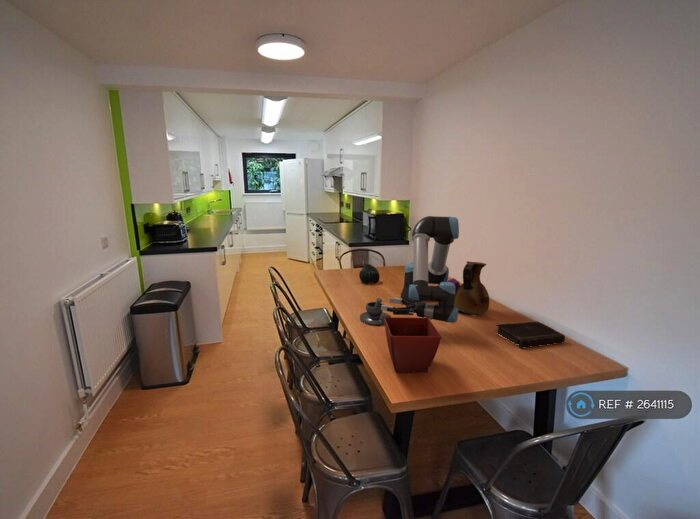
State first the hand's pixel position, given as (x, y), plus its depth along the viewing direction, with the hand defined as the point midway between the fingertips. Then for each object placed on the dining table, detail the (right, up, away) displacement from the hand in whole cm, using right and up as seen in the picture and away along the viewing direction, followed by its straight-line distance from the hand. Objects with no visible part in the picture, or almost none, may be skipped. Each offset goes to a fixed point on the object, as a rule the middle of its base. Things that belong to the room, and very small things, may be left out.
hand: (385, 303), depth 181 cm
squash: (-5, +6, +74) cm, 74 cm away
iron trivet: (-5, -9, +5) cm, 12 cm away
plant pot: (+5, -20, -41) cm, 46 cm away
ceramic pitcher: (+51, -8, +19) cm, 55 cm away
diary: (+68, -16, -14) cm, 71 cm away
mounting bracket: (+46, 0, +54) cm, 71 cm away
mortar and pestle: (-5, -8, +4) cm, 10 cm away
